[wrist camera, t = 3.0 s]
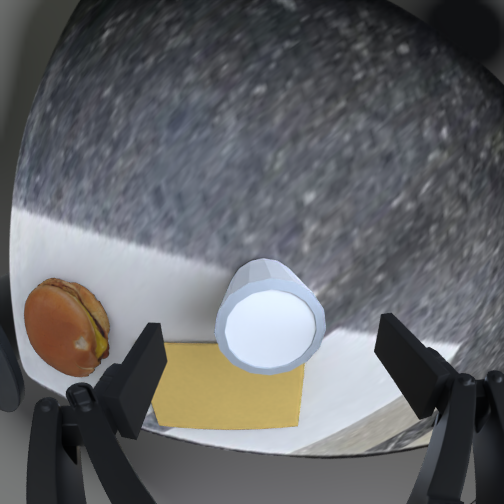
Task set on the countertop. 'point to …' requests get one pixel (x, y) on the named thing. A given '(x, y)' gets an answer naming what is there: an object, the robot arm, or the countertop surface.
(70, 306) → the burger
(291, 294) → the shot glass
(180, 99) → the countertop surface
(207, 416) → the cloth
